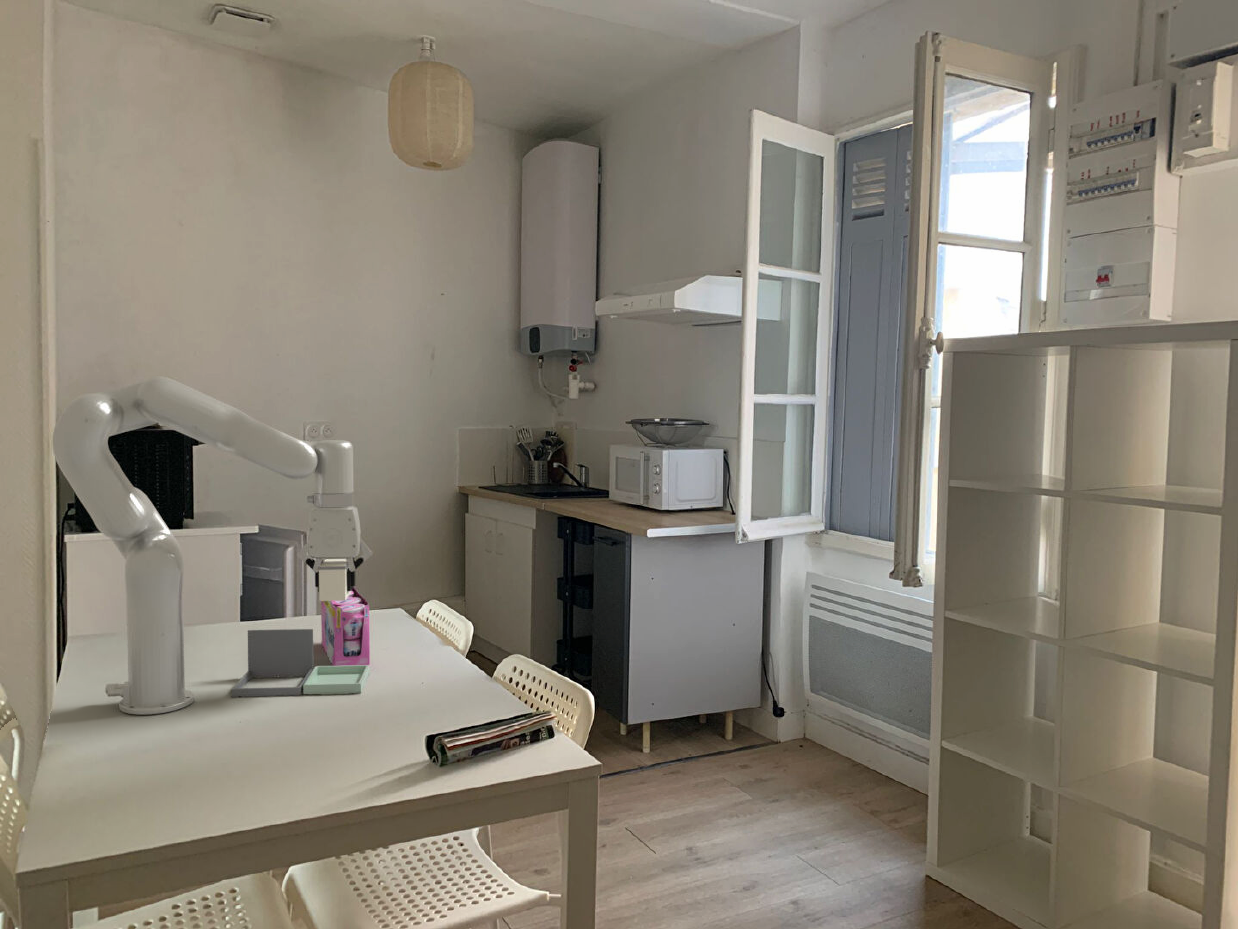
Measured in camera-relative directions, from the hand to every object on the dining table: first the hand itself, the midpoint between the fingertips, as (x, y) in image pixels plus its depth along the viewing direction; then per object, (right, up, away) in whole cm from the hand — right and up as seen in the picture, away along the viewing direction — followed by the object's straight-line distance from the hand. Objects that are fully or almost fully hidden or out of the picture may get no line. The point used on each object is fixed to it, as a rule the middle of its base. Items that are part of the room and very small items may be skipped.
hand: (335, 589), depth 187 cm
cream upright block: (0, -2, 0) cm, 2 cm away
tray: (0, -20, +1) cm, 20 cm away
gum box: (-5, -18, +24) cm, 30 cm away
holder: (-12, -20, 0) cm, 23 cm away
